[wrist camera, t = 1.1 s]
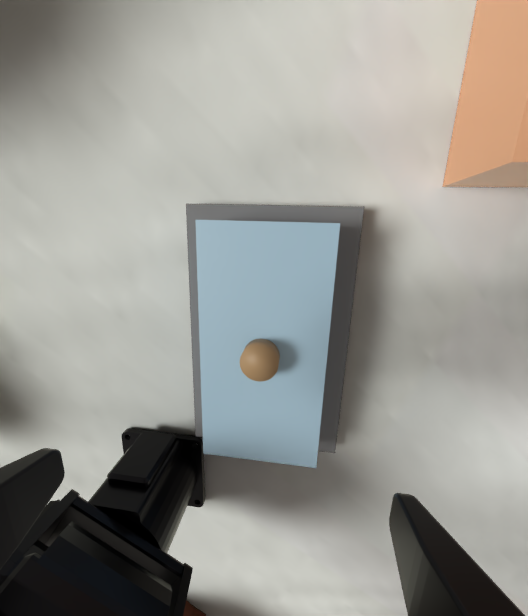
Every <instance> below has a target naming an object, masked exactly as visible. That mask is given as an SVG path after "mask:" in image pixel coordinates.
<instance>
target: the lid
mask: <svg viewBox="0 0 528 616" xmlns="http://www.w3.org/2000/svg"><path fill="white" fill-rule="evenodd" d="M195 222H196V251H197V281H198V311H199V340H200V370H201V400H202V429H203V454H210V455H218V456H226V457H234V458H241V459H249V460H257V461H264V462H272V463H280V464H288V465H295V466H303V467H311V468H316V466H317V455H318V445H319V435H320V425H321V415H322V404H323V394H324V384H325V374H326V364H327V354H328V343H329V333H330V323H331V313H332V303H333V292H334V282H335V272H336V262H337V252H338V241H339V231H340V223H311V222H271V221H230V220H195Z"/></svg>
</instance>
